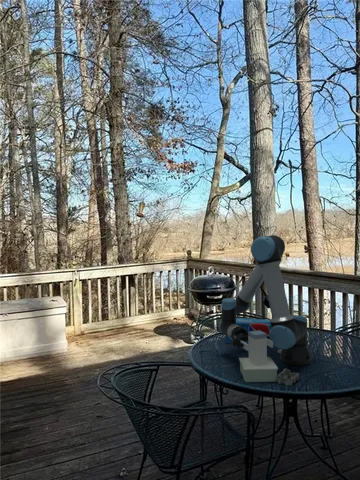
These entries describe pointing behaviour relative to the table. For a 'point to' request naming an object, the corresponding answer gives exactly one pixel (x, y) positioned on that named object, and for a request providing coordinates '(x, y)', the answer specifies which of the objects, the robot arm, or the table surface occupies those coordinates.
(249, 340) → the milk carton
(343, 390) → the table surface
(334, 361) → the table surface
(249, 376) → the podium
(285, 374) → the egg carton
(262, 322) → the soda box
